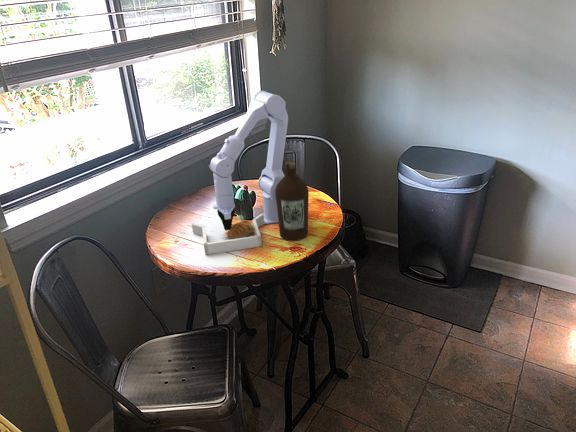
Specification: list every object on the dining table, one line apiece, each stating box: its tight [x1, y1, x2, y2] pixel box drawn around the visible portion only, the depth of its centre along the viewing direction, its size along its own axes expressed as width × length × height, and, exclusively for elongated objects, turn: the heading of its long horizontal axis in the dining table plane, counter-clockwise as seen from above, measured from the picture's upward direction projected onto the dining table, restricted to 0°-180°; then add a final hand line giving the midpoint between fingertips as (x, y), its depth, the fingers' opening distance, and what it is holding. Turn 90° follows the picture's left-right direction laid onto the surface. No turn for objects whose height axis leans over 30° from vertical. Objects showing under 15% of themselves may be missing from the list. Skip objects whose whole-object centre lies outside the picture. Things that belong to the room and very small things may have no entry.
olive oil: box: [275, 161, 310, 242], centre depth 150 cm, size 11×11×25 cm
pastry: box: [226, 219, 254, 240], centre depth 157 cm, size 9×7×4 cm
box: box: [191, 213, 265, 256], centre depth 155 cm, size 25×16×4 cm, turn 102°
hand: (227, 229), depth 159 cm, fingers closed
